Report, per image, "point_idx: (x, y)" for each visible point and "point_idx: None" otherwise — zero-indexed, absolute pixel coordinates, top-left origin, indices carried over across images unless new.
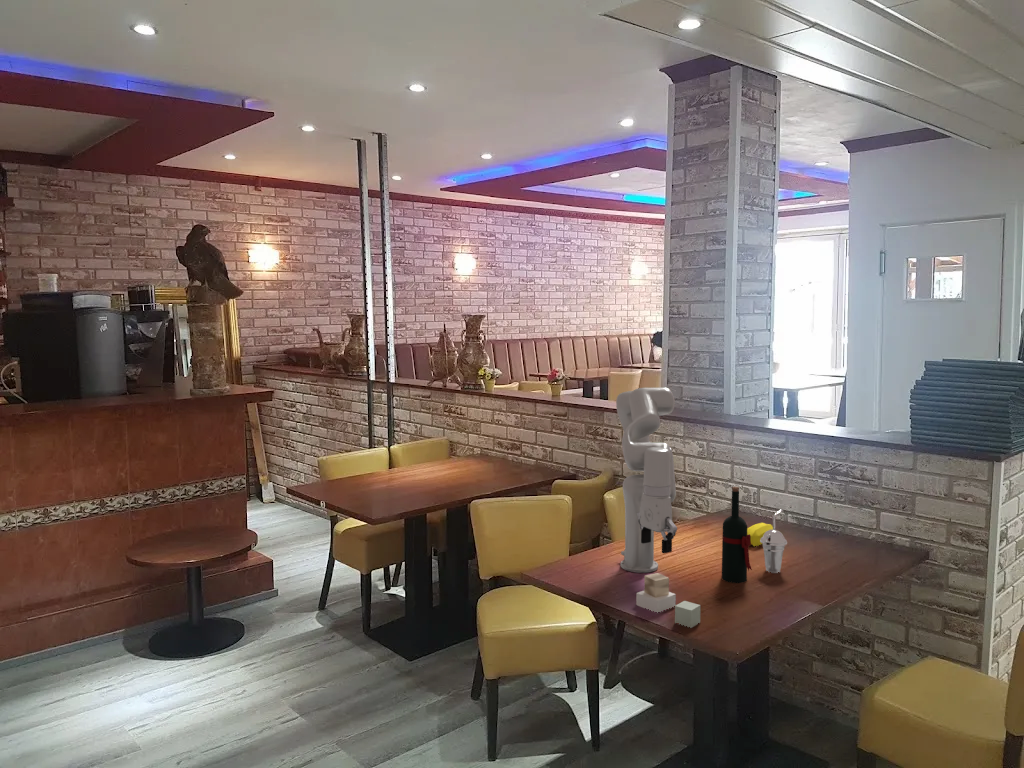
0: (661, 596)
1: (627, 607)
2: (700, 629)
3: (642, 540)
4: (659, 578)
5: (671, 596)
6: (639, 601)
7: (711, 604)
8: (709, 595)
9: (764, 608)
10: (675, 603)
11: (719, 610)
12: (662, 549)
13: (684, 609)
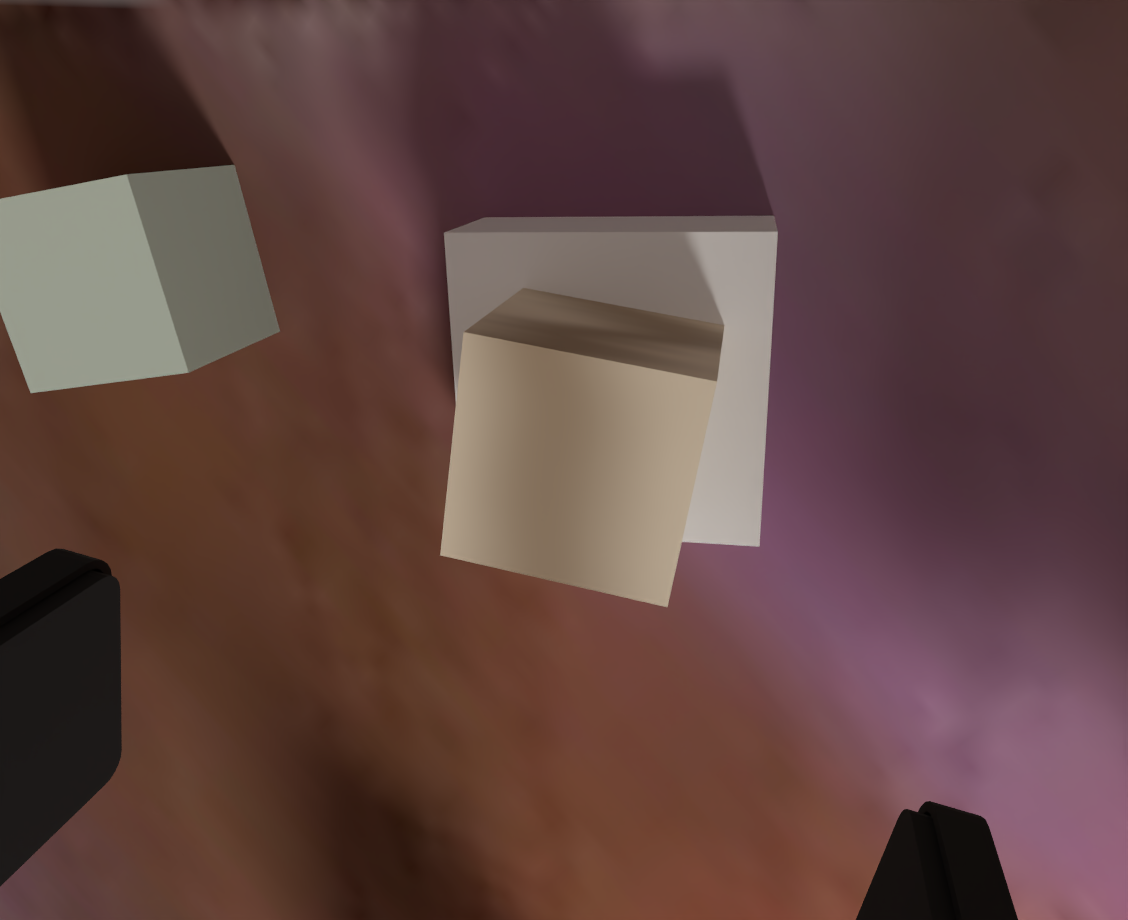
0: None
1: (799, 78)
2: None
3: (940, 866)
4: (498, 449)
5: None
6: (726, 220)
7: (359, 706)
8: (494, 840)
9: (126, 860)
10: None
11: (245, 649)
12: (3, 587)
13: (36, 193)
